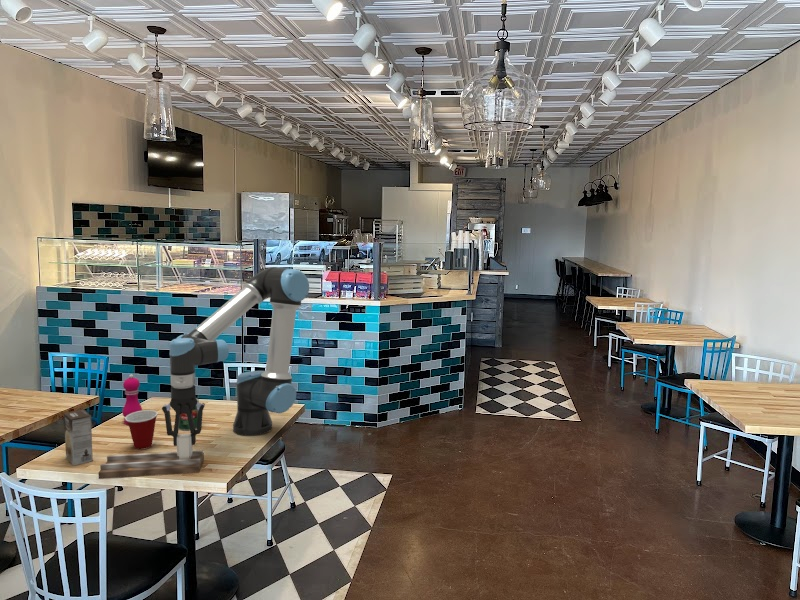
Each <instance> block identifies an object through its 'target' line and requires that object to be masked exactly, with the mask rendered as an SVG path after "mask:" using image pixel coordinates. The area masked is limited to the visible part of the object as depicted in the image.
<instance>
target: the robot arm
mask: <svg viewBox="0 0 800 600" xmlns="http://www.w3.org/2000/svg"><path fill="white" fill-rule="evenodd" d="M309 282H310V281H309V279H308V277H307V276H306V275H305V273H303V271H301V270H298V269H293V268H284V267H283V268H282V267H275V266H274V267H268V268H265V269H263V270H261V271H260V272H258V273H256V274H255V275H254V276H252V277H251V278H249V279H248V280H247V281H246V282H245V283H243V285H242V288H241V290H239V291H238V292H237V293H236V294H234V295H233V297H231V298H230V299H228V300H227V301H226V302H225V303H224V304H223V305H222V306H220V307H219V308H218V309H216V311H214V312H213V313H212V314H211V315H210V316H208V317H206V319H205V320H203V321H202V322H201V323H200V324H199V325H197V327H195V328H194V329H193V330H192V331H190V332H189V333H188V334H181V335H179V336H177V337H176V338H173V339H172V340H171V341H170V342H169V345H170V346H169V363H170V364H169V367H170V386H171V387H170V395H171V396H170V401H169V403H168V404H163V406H162V408H161V410H162V412H163V414H164V420H165V428H166V435H167V436H172V438H173V440H172V441H173V446H174V447H176V452H177V456H179V437H180V435H181V434H182V433H181V434H179V430H180V429H179V423H180V416H181V414H183V413H184V414H187V417H188V423H189V428H190V430H189V432H190V433H189V434H190V435H189V456H192V453H193V451H194V448H193V446H195V445H196V442H197V436H196V435H199V434H201V432H202V429H203V427H202V425H203V414H204V408H205V406H206V403H204V402H203V403H201V402H197V400H196V398H197V396H196V385H195V384H196V366H197V367H198V366H202V365H207V364H208V365H209V364H213V363H214V364H215V363H216V364H217V363H219V362H222V361H225V360H226V359H228V357H229V354H230V353H229V346H228V343H227V342H226V341H225V340H224V339H217V338H218V337H219V336H220V335H221V334H222V333H224V332H225V331H226V330H228V328H230V327H231V326H232V325H233V324H234V323H235V322H237V321H238V320H239V319H240V318H242V316H244V315H245V314H246V313H247V312H248V311H249V310H250V309H252V307H254V306H255V305H256V304H259V305H260V304H261V303H262V302H263V301H265V300H267V299H269V303H270V305H271V306H272V315H271V322H270V323H271V324H270V330H269V331H270V332H269V341H268V349H267V350H268V351H267V357H266V365H265V370H251V371H245V372H242V373H240V374H238V375H237V378H236V401H237V402H236V403H237V405H236V406H237V407H236V408H237V409H236V410H237V412H236V414H235V418H234V421H233V423H232V431H233V433H234V434H236V435H240V436H259V435H263V434H267V433H269V432H271V431H272V430H273V420H272V418H271V415H270V413H275V414H284V413H286V412H288V411H289V410H290V409H291V408H292V406H293V405H294V404H295V401H296V399H297V389H296V388H295V386H294V385H293V384H292V380H293V376H292V375H291V373H290V372H289V371H290V364H291V356H292V355H291V354H292V348H293V347H292V346H293V341H294V340H293V339H294V330H295V322H296V316H297V315H296V314H297V310H298V309H299V308H300V307H301V305H302V301H303V300H305V299H306V297H307V296H308V294H309V291H310V283H309ZM195 406H197V409H198V410H199V411H198V419H197V429H195V425H194V420H193V415H192V410H193V409H194V407H195ZM171 409H172V410H174V412H175V416H174V417H175V418H174V426H173V427H172V418H171Z"/></svg>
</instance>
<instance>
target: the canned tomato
mask: <svg viewBox="0 0 800 600" xmlns="http://www.w3.org/2000/svg"><path fill="white" fill-rule="evenodd" d="M196 400H197V402H199V401H200V400H199V398H197V397H196ZM199 403H200V402H199ZM198 411H199V410H198V409H197V406H195V407H194V409H193V410H192V415H193V420H194V425H195V430H197V419H198ZM179 430H180V431H184V432H185V431H190V428H189V423H188V417H187V414H184V413H183V414H181V416H180V423H179Z"/></svg>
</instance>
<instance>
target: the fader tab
mask: <svg viewBox="0 0 800 600" xmlns="http://www.w3.org/2000/svg"><path fill="white" fill-rule="evenodd" d="M190 434H191V433H185V434H184V433H181V435H180V437H179V460H182V459H190V458H191V456H189V435H190Z"/></svg>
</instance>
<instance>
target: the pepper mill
mask: <svg viewBox="0 0 800 600" xmlns="http://www.w3.org/2000/svg"><path fill="white" fill-rule="evenodd" d="M140 385H141V384H140V380H139V379H138V378H136V377H134V375H133V374H132V373H131V374H129V375H128V378H126V379H125V380H124V381H123V383H122V387H123V389H124V395H126V396H125V404H124V406H123V408H122V416H123V417H124V420H123V422H124V424H125V425H128V423H127V421H126V420H125V417H126V416H127V415H129V414H131V413H134V412H137V411H143V408H142V405H141V404H140V401H139V398H138V394H139V387H140ZM128 426H129V425H128Z"/></svg>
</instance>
